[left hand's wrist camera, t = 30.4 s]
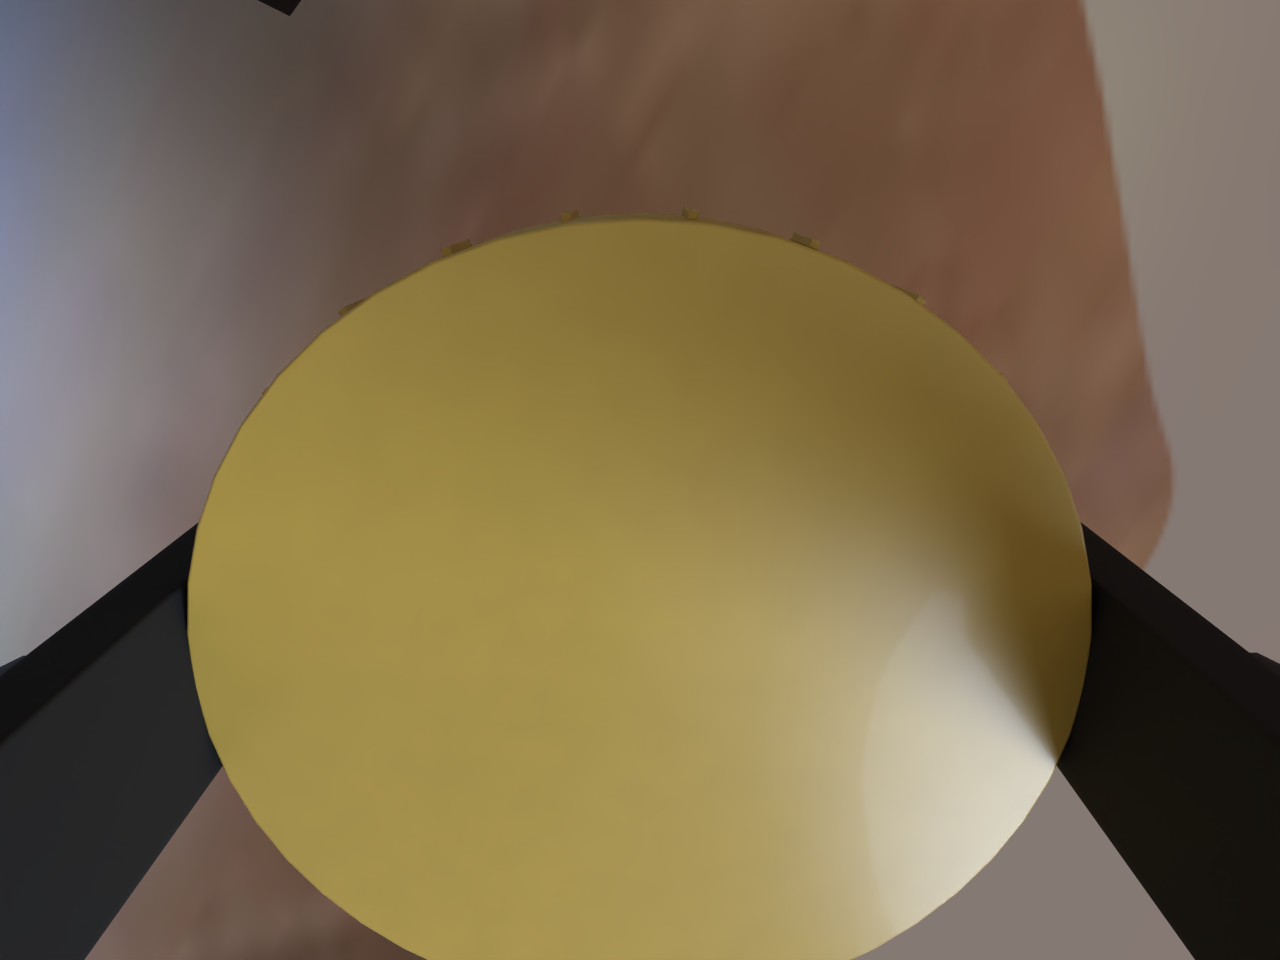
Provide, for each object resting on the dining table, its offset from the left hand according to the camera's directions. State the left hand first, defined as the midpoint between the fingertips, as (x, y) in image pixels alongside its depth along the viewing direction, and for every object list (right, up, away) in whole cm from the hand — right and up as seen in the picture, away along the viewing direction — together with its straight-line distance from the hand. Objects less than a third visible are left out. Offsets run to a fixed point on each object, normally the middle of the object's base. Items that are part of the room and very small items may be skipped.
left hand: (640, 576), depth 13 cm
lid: (0, -1, -3) cm, 3 cm away
